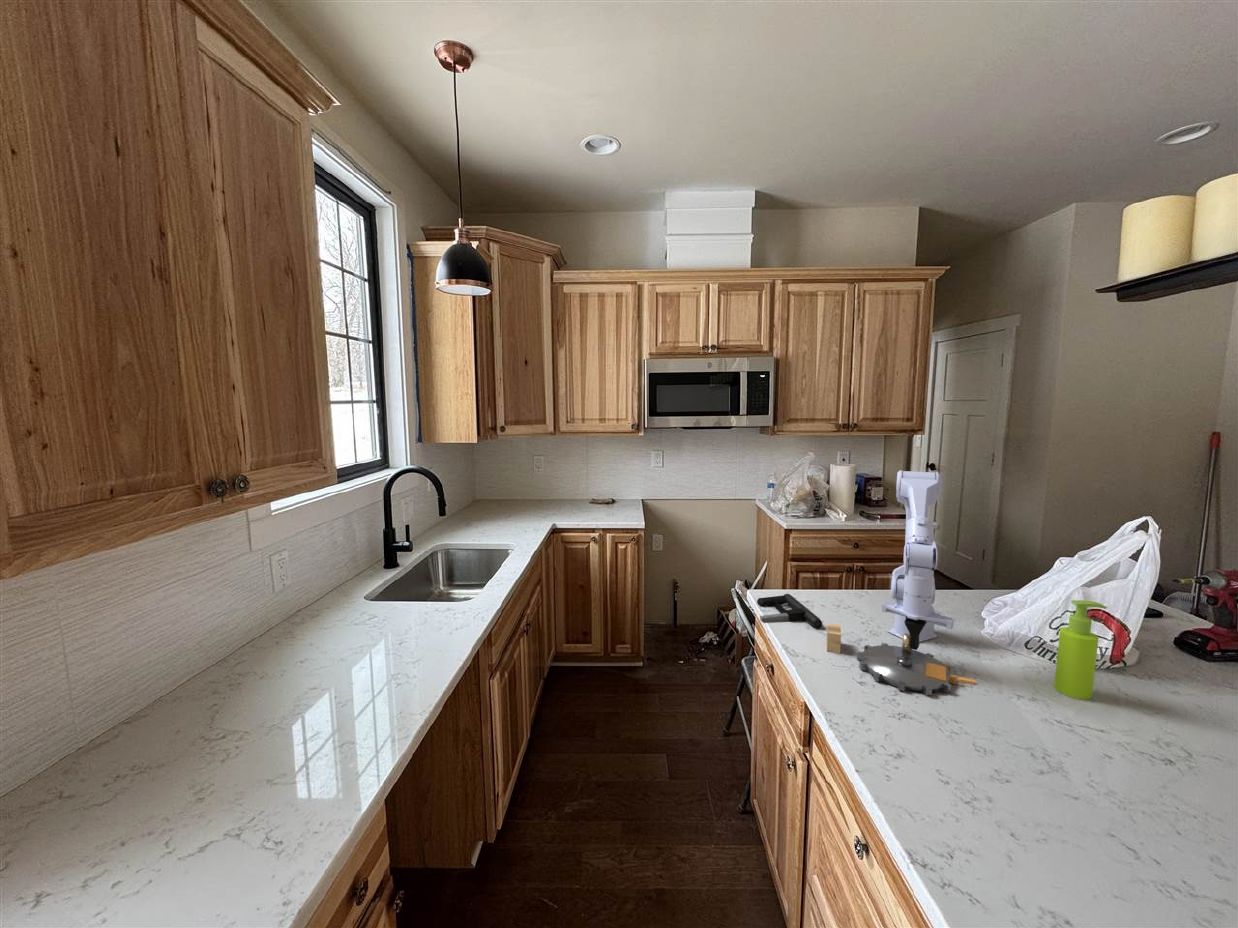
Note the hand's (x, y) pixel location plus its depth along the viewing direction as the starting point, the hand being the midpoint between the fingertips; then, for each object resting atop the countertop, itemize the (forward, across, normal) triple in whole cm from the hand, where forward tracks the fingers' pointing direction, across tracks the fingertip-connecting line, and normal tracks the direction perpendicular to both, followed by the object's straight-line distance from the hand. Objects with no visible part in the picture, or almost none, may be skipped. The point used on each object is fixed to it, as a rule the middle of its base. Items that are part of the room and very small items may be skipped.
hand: (914, 647), depth 116 cm
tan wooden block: (+3, -16, -6) cm, 18 cm away
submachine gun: (+4, -35, +3) cm, 35 cm away
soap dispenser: (+4, +28, +9) cm, 30 cm away
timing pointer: (+3, +11, -2) cm, 12 cm away
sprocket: (+3, 0, -7) cm, 8 cm away
